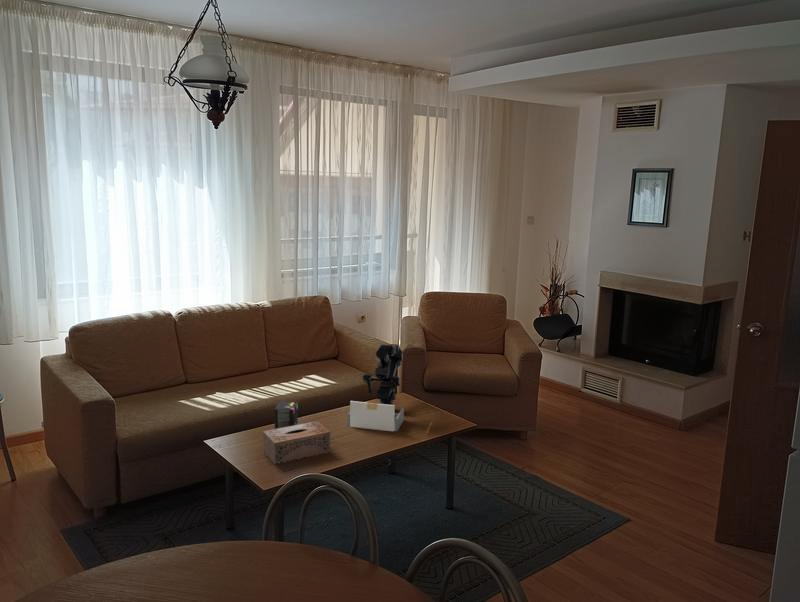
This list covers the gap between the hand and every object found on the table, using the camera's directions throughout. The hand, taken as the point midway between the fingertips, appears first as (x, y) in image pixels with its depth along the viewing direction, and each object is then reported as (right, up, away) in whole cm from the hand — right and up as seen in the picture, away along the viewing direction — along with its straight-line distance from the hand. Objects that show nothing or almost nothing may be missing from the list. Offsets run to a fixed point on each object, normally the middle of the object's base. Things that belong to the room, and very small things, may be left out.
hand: (378, 395), depth 315 cm
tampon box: (-43, -16, -16) cm, 49 cm away
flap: (-3, -15, -8) cm, 17 cm away
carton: (-1, -14, -1) cm, 14 cm away
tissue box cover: (-35, -20, -35) cm, 54 cm away
